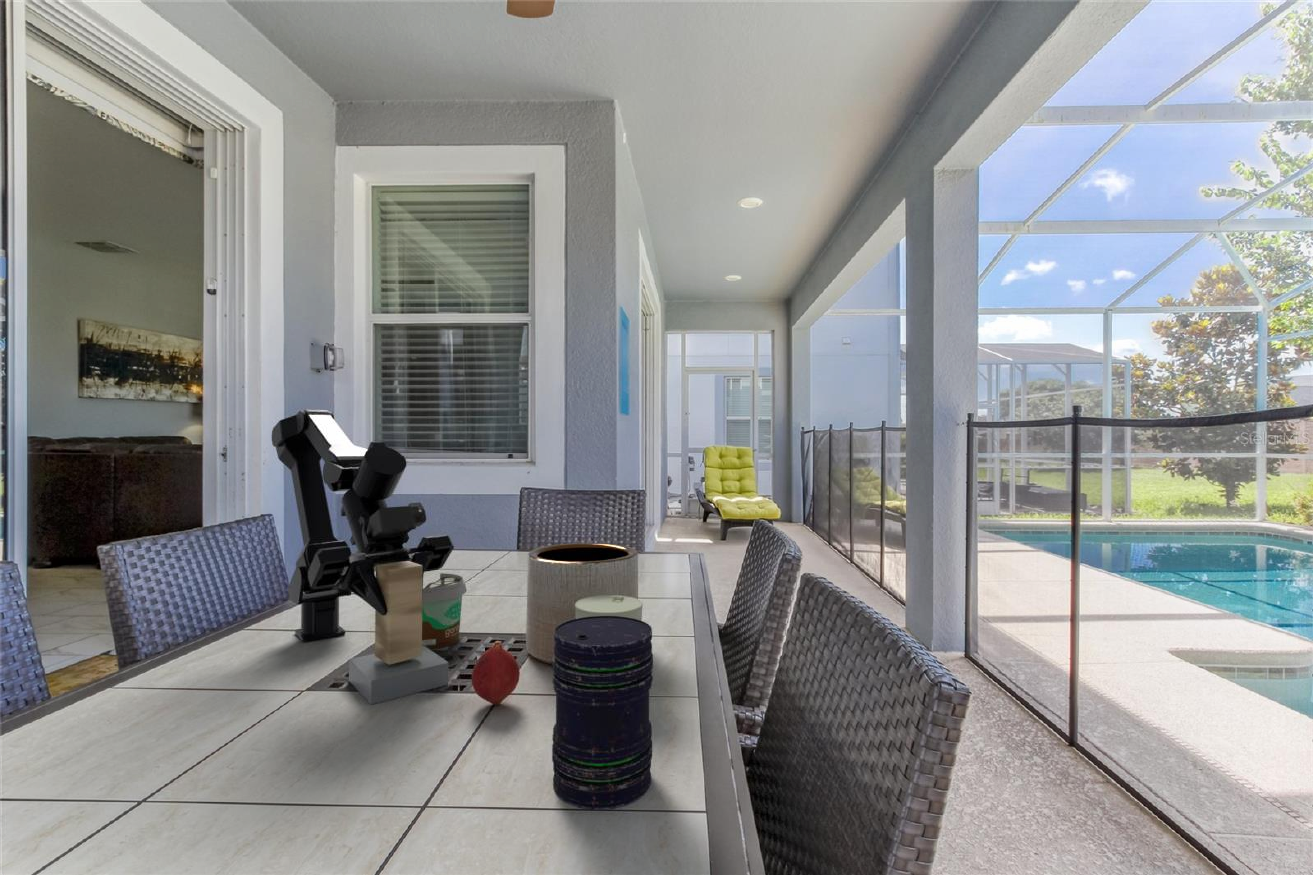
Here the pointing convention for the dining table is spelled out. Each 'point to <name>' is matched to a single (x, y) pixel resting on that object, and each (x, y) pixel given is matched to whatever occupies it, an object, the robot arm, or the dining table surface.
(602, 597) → the can
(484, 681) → the onion
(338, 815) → the dining table surface
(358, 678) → the plate
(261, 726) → the dining table surface
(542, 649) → the planter
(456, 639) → the food container
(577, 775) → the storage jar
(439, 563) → the robot arm
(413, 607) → the oak block
